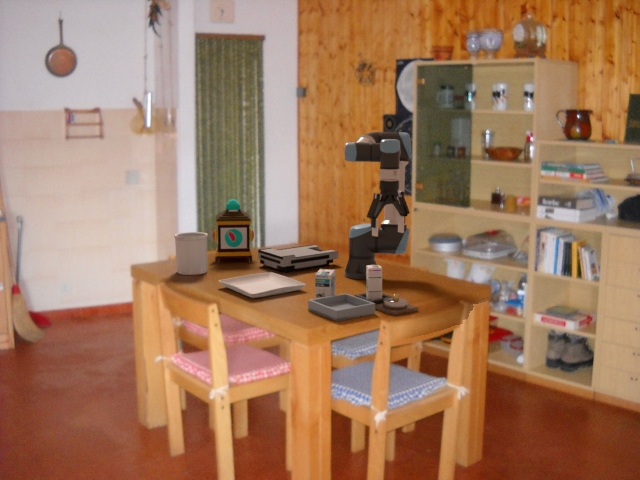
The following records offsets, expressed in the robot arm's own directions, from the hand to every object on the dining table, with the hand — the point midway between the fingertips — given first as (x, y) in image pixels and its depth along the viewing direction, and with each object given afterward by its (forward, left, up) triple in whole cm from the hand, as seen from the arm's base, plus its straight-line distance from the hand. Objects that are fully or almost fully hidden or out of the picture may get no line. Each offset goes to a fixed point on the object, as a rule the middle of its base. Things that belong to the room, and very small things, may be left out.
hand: (388, 234), depth 302 cm
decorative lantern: (-102, -12, -27) cm, 106 cm away
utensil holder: (-89, -41, -27) cm, 102 cm away
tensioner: (+5, -5, -27) cm, 28 cm away
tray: (+2, -24, -27) cm, 36 cm away
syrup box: (-2, -5, -27) cm, 28 cm away
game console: (-73, +7, -28) cm, 78 cm away
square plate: (-44, -31, -28) cm, 60 cm away
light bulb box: (-18, -17, -27) cm, 37 cm away
